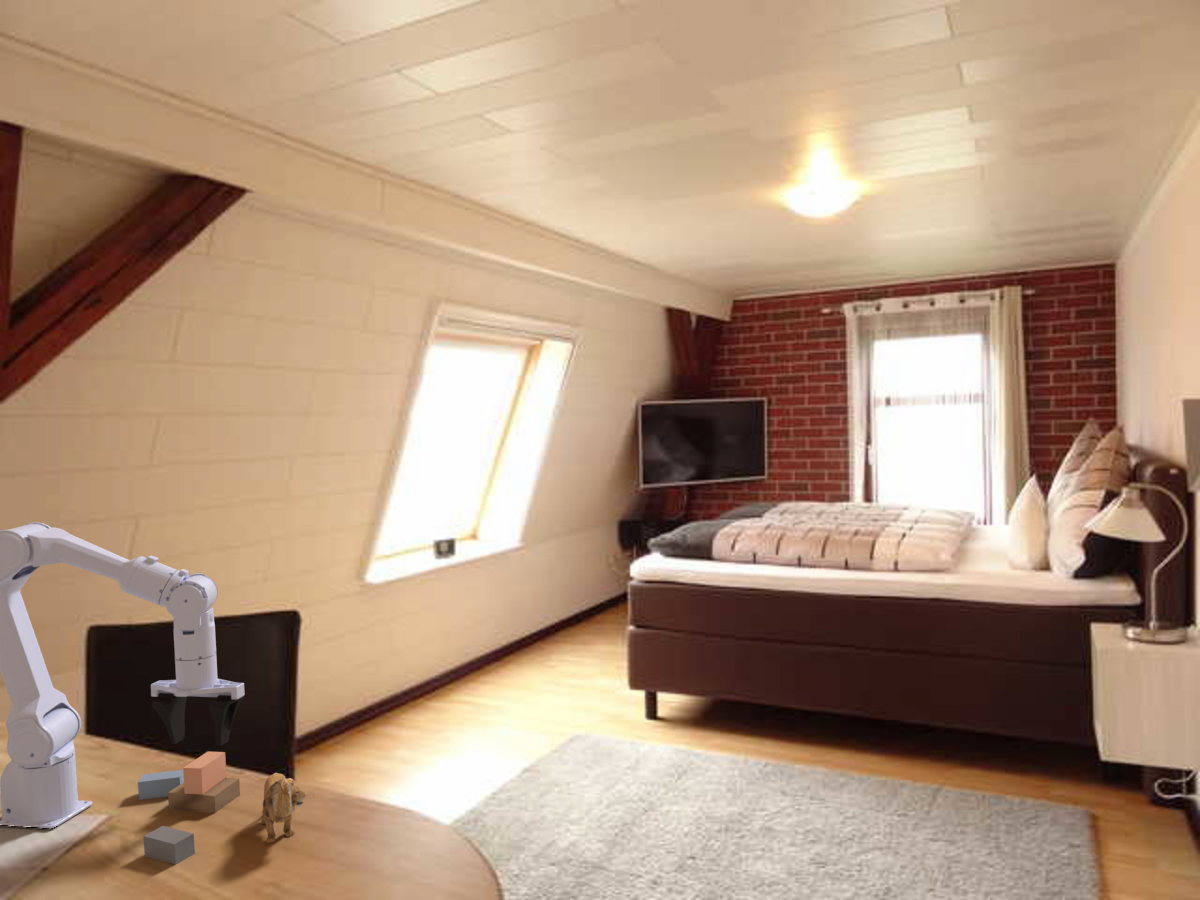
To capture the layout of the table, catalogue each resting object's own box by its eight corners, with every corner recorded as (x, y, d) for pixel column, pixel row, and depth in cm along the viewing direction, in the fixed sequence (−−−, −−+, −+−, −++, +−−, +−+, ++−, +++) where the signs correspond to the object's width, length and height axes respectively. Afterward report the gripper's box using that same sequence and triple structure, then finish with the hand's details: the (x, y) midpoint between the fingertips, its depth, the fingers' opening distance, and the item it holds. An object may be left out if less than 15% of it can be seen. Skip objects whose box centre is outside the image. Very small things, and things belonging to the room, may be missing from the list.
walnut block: (169, 811, 128) (167, 792, 128) (195, 793, 134) (194, 775, 134) (215, 815, 127) (214, 795, 127) (240, 797, 133) (239, 778, 133)
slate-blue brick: (138, 800, 132) (137, 782, 132) (144, 792, 135) (143, 774, 135) (180, 795, 133) (179, 777, 133) (185, 787, 136) (184, 769, 136)
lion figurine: (311, 842, 117) (308, 779, 117) (271, 855, 114) (268, 790, 114) (285, 803, 129) (282, 745, 129) (248, 813, 126) (245, 754, 126)
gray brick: (144, 857, 115) (143, 836, 115) (164, 846, 118) (162, 825, 117) (175, 866, 112) (174, 844, 112) (194, 854, 115) (193, 833, 115)
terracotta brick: (184, 793, 128) (183, 767, 127) (209, 776, 134) (207, 751, 133) (202, 794, 127) (201, 768, 127) (226, 777, 133) (225, 752, 133)
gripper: (135, 662, 127) (139, 750, 127) (223, 664, 124) (227, 755, 125) (166, 648, 133) (171, 732, 134) (250, 650, 131) (254, 736, 132)
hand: (200, 742), depth 130 cm, fingers open, 7 cm apart
